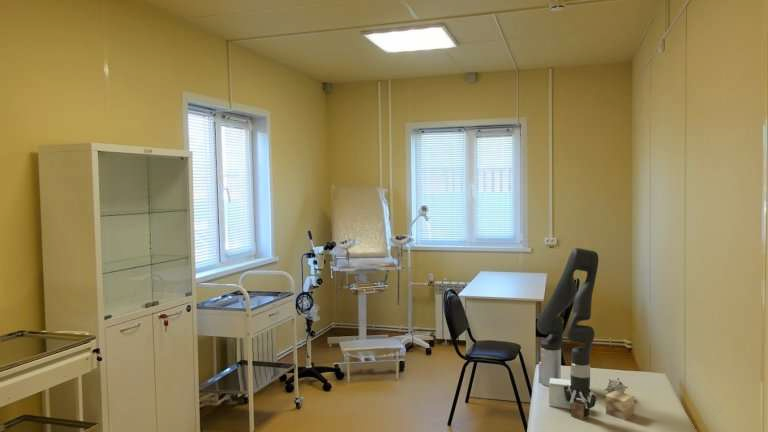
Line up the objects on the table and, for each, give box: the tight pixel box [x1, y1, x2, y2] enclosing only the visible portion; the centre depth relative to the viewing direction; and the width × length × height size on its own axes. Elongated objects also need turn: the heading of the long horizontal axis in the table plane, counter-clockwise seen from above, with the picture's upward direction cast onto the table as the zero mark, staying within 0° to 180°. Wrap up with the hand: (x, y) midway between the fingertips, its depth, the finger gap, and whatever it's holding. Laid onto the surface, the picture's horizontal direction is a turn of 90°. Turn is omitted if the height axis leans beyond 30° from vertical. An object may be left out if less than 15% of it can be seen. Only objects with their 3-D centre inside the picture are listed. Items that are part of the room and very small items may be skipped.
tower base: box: [605, 405, 635, 421], centre depth 228 cm, size 8×8×4 cm
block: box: [570, 398, 590, 421], centre depth 226 cm, size 5×5×6 cm
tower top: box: [604, 391, 635, 411], centre depth 228 cm, size 8×8×4 cm
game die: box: [604, 377, 628, 394], centre depth 246 cm, size 9×8×10 cm
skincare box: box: [548, 378, 573, 410], centre depth 238 cm, size 10×6×10 cm, turn 70°
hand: (579, 414), depth 226 cm, fingers closed on block, 5 cm apart
